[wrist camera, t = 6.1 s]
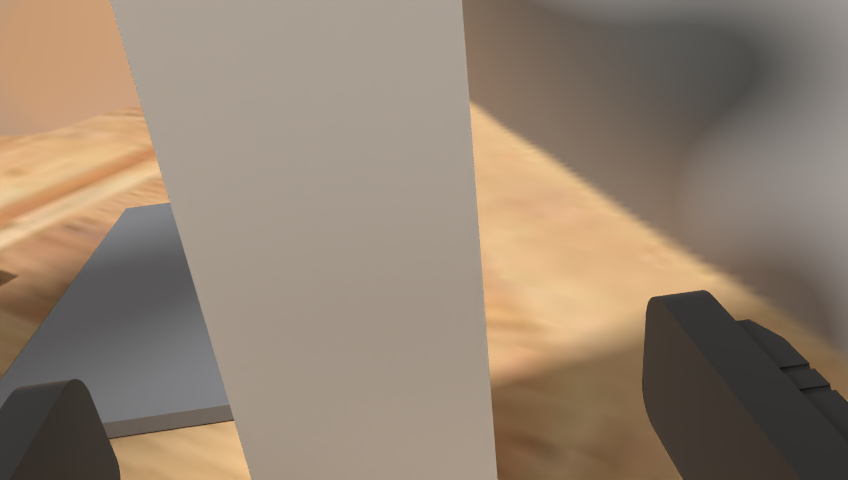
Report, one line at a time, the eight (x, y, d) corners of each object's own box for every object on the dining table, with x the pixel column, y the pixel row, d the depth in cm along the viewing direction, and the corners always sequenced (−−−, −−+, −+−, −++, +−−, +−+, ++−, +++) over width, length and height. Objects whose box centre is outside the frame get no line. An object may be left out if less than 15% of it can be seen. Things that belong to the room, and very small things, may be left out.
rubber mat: (-40, 460, 21) (-48, 445, 21) (129, 218, 37) (126, 208, 37) (414, 392, 21) (412, 377, 21) (386, 184, 37) (384, 173, 37)
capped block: (286, 599, 15) (62, -164, 9) (300, 443, 20) (158, -140, 13) (503, 564, 16) (445, -205, 9) (469, 418, 20) (413, -168, 13)
